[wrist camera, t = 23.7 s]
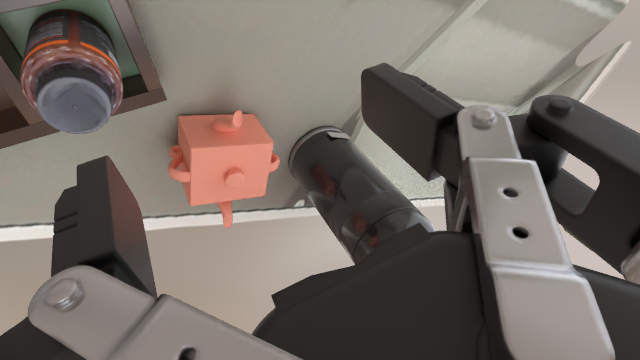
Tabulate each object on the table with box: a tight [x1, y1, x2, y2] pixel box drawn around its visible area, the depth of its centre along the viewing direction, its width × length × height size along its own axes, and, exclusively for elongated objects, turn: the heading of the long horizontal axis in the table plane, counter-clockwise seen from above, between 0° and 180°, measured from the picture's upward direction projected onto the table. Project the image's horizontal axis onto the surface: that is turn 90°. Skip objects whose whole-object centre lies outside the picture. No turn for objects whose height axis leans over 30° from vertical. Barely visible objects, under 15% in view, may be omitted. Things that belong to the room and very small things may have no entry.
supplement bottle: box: [20, 9, 123, 134], centre depth 27 cm, size 6×6×11 cm
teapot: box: [168, 110, 280, 228], centre depth 40 cm, size 12×15×8 cm
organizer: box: [0, 0, 167, 149], centre depth 28 cm, size 10×20×5 cm, turn 94°
